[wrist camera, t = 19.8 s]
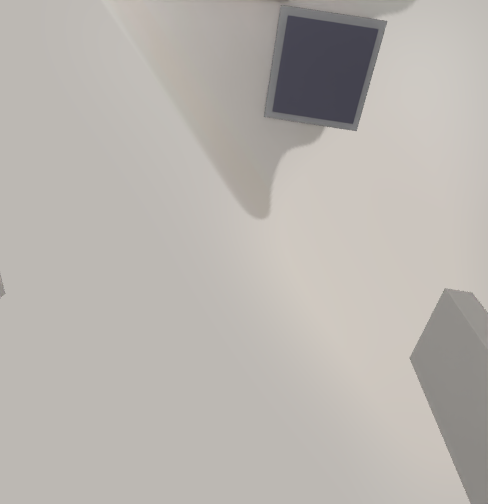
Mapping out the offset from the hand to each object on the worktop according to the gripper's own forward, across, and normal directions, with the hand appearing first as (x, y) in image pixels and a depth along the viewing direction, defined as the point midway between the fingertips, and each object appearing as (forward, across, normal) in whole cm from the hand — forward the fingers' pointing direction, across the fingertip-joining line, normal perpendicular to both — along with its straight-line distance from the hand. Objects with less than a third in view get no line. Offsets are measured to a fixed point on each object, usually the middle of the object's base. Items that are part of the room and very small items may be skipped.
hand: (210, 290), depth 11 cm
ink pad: (+29, +5, +5) cm, 30 cm away
